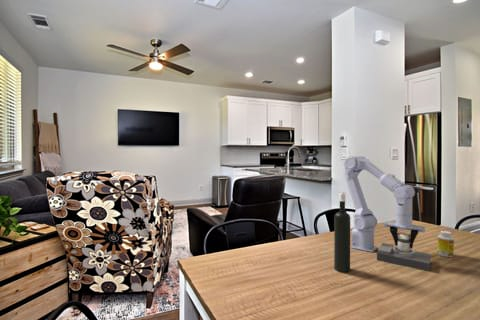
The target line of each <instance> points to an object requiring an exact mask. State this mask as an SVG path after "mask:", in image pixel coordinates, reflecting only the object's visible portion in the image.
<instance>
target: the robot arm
mask: <svg viewBox="0 0 480 320" xmlns="http://www.w3.org/2000/svg"><path fill="white" fill-rule="evenodd" d="M343 166H344V178H345V182H346V184H347V188H348V190H349V194H350V196H351V200H352V203H353V206H354V209H355V211H354V213H353V218H354V219H353V224H354V227H353V228H352V230H351V246H350V249H355V250H359V251H365V252H370V253H374V251H375V250H376V248H377V246H376V245H375V227H377V225H378V219H377V217H376V216H375V215H374V213H373V211H372V210H371V209H370V208H368V205H367V202H366V199H365V196H364V193H363V190H362V189H363V188H362V186H361V185H360V184H361V183H360V181H359V178H358V176H359V175H360V173H361V172H363V171H367V172H369V173H370V174H371V175H373V176H374V177H375V178H377V179H378V180H379V181H380V184H381V185H382V186H383V187H385V188H386V189H387V190H388V191H390V192H391V193H392V194H393V197H394V198H395V202H396V203H395V221H393V222H392V221H383V227H384V228H389V232H390V234H391V236H392V238H393V240H394V241H393V242H394V247H397V233H399V232H398V230H405V231H410V233H409V234H410V238H411V242H410V249H413V248H414V247H413V246H414V242H415V240H416V238H417V237H418V234H419V233H420V232H421V233H423V234H425V233H426V226H421V225H416V224H413V198H414V196H415V194H416V190H415V188H414V187H413V186H412V185H410V184H405V182H404V181H402V180H400V179H398V178H396V175H395V174H393V173H385V172H384V171H383V170H381V169H380V168H379V167H377V166H376V165H375V164H374V163H373V162H371V160H370V159H368V158H366V157H365V156H363V155H360V156H351V155H350V156H347V157H346V159H345V160H344V162H343Z"/></svg>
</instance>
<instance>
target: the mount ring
mask: <svg viewBox="0 0 480 320" xmlns="http://www.w3.org/2000/svg"><path fill="white" fill-rule="evenodd" d="M415 251H416V250H414V249H413V248H412V249H411V248H410V253H405V252H400V251H398V250H397V246H394V247H393V253H394V254H396V255H399V256H403V257H414V256H415Z"/></svg>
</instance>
